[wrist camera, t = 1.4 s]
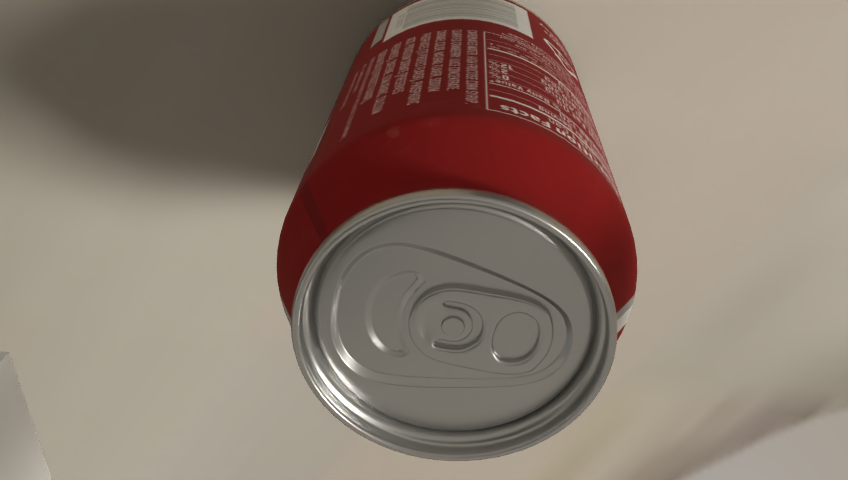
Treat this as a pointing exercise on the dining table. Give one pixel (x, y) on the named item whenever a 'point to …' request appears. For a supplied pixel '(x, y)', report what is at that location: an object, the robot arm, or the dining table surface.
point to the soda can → (458, 238)
